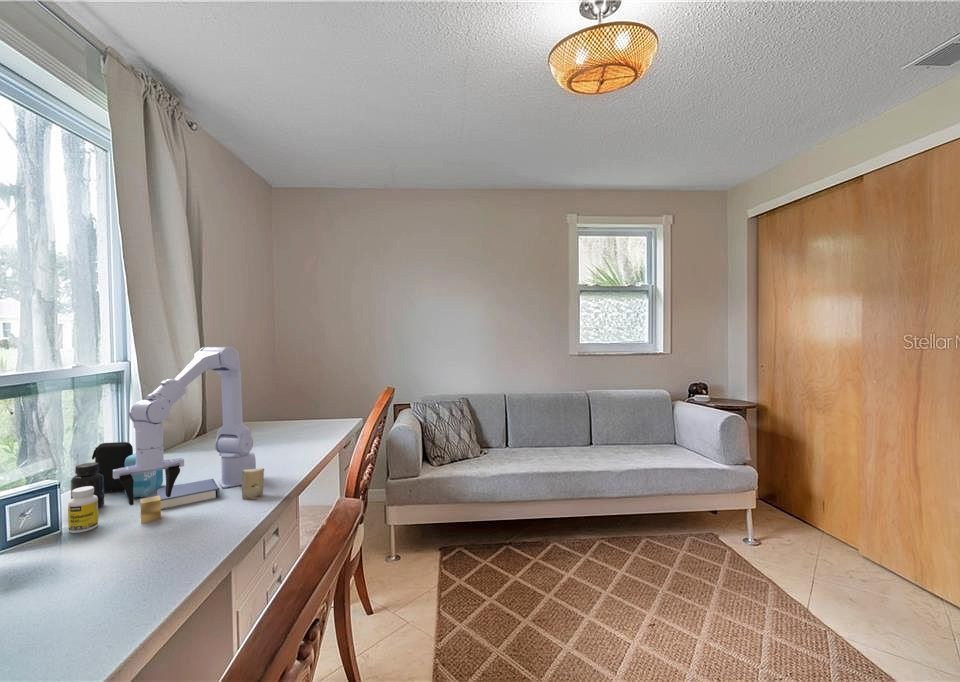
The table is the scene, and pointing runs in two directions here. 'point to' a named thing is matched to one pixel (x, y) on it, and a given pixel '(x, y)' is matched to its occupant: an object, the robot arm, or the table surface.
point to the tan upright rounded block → (252, 483)
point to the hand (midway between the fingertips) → (150, 499)
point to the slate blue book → (189, 493)
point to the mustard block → (150, 509)
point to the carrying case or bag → (112, 462)
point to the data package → (144, 479)
